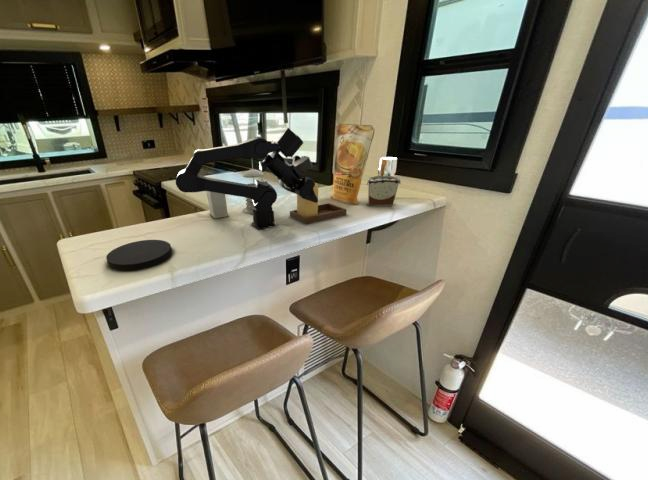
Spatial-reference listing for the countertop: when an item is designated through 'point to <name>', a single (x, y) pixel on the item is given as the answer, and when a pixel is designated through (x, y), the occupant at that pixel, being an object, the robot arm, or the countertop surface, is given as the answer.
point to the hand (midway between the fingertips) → (311, 198)
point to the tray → (320, 213)
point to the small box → (217, 204)
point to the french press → (249, 174)
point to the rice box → (307, 205)
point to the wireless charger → (139, 255)
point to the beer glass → (387, 166)
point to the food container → (382, 190)
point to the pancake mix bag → (350, 160)
